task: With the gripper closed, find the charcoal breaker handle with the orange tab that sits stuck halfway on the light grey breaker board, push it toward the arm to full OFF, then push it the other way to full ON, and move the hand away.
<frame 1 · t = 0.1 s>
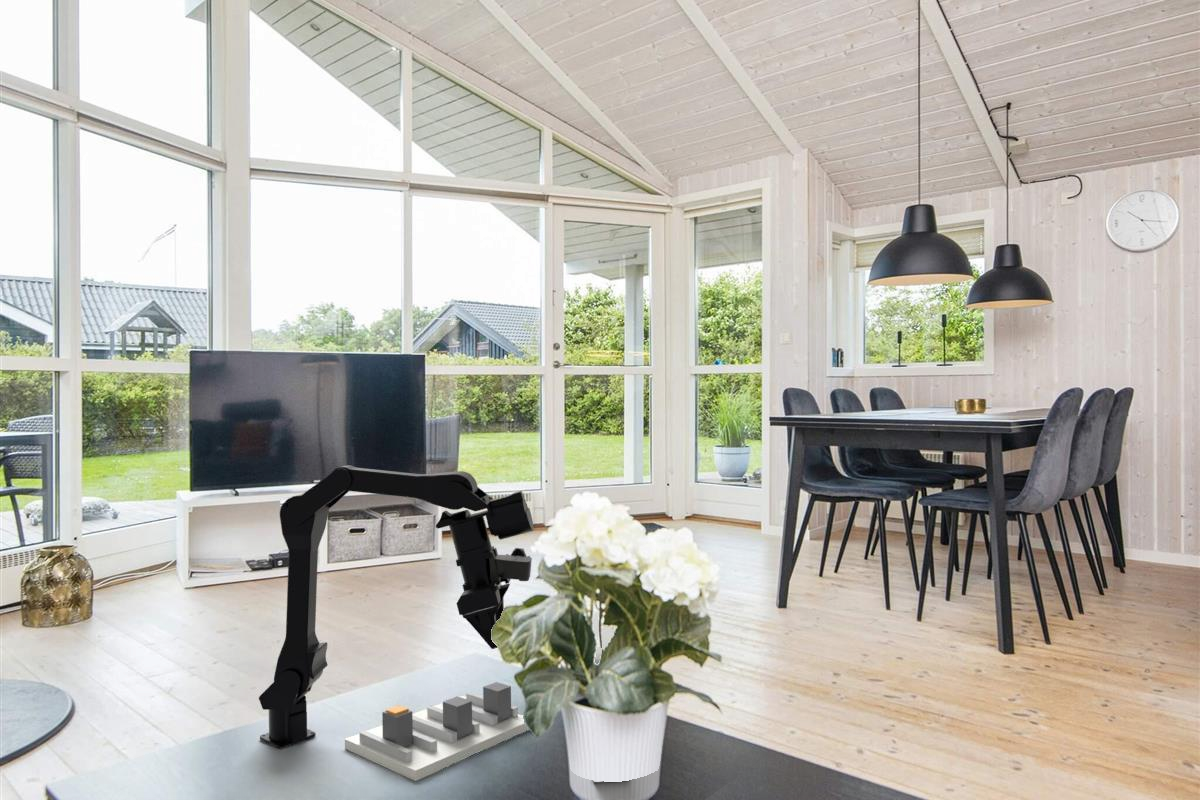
hand: (498, 639, 132), 15 cm above the table, tool pointing down, fingers open, 9 cm apart
tripped breaker: (397, 726, 124), point 4 cm above the table, slide at 0.0 cm
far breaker: (497, 701, 135), point 4 cm above the table, slide at 4.0 cm
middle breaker: (457, 717, 128), point 4 cm above the table, slide at 4.0 cm
breaker board: (441, 738, 131), on the table
rounded white slab: (599, 747, 127), on the table
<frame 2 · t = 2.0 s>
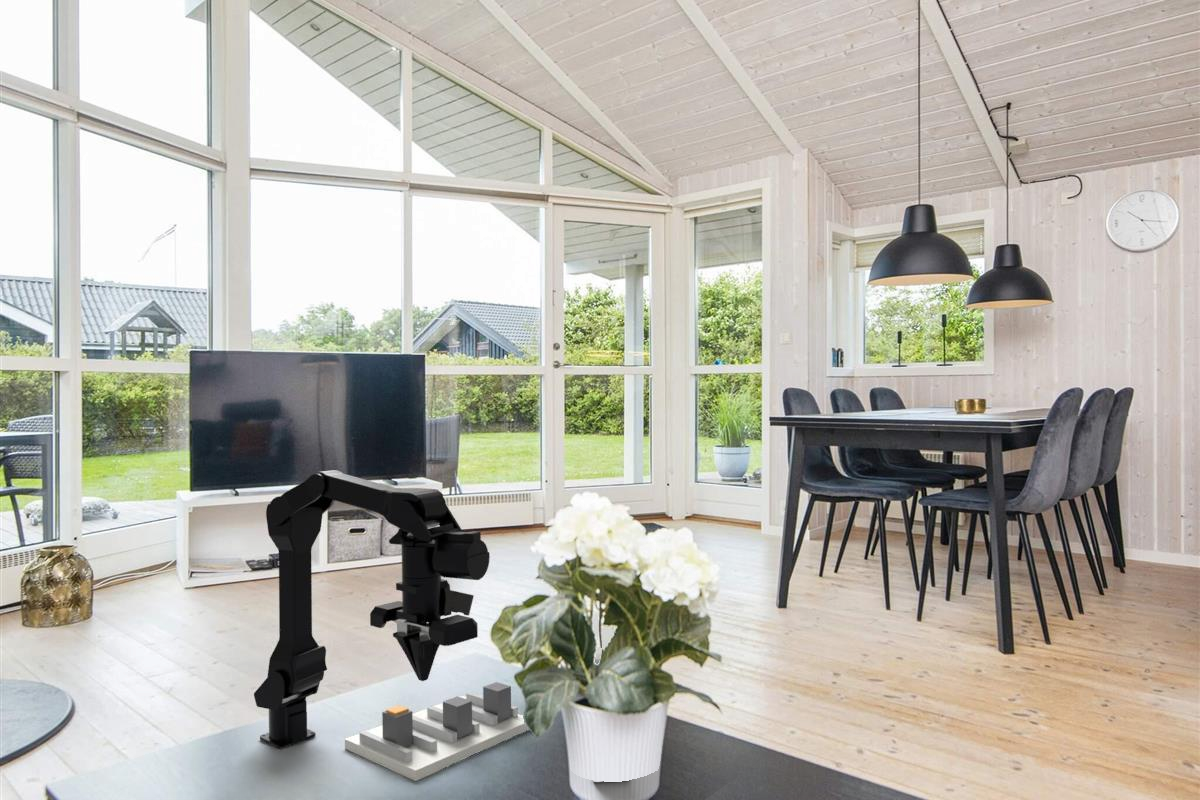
hand: (423, 680, 120), 13 cm above the table, tool pointing down, fingers closed
nothing on the table moved.
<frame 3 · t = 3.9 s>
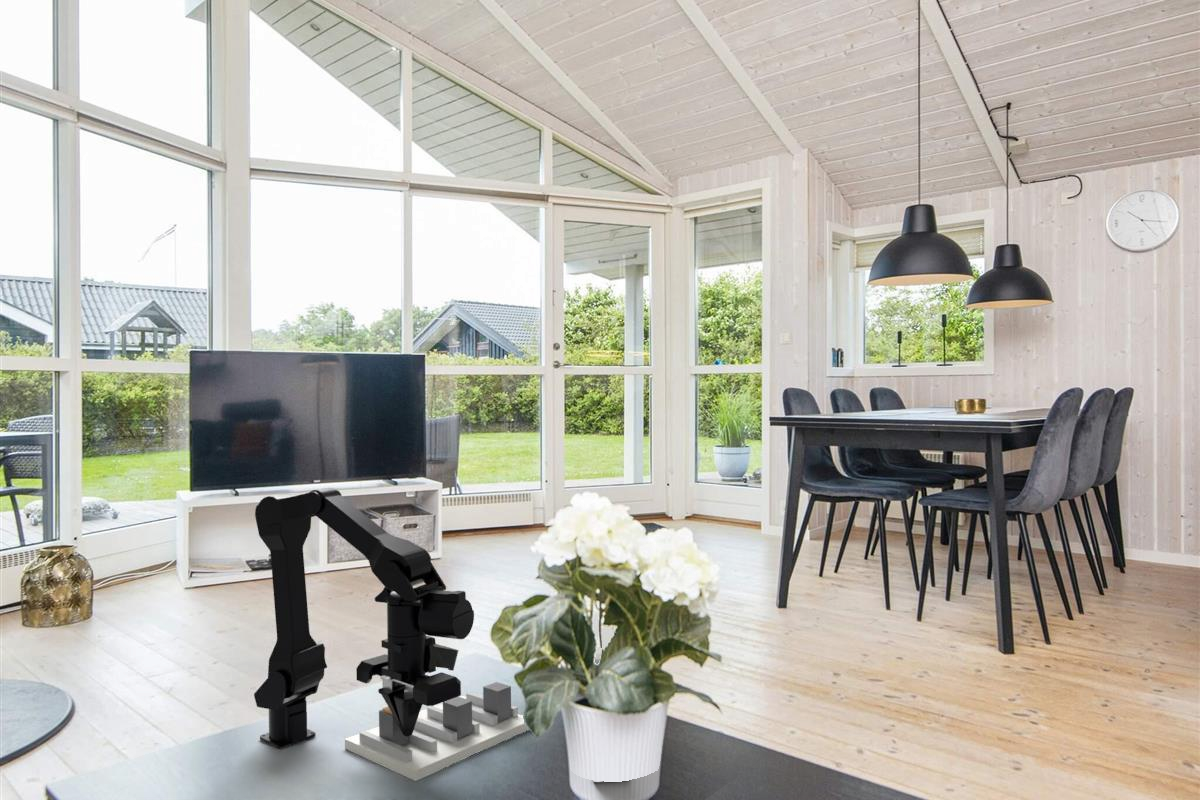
hand: (407, 735, 123), 4 cm above the table, tool pointing down, fingers closed
tripped breaker: (394, 725, 125), point 4 cm above the table, slide at -0.9 cm, touching gripper
everything else where it was.
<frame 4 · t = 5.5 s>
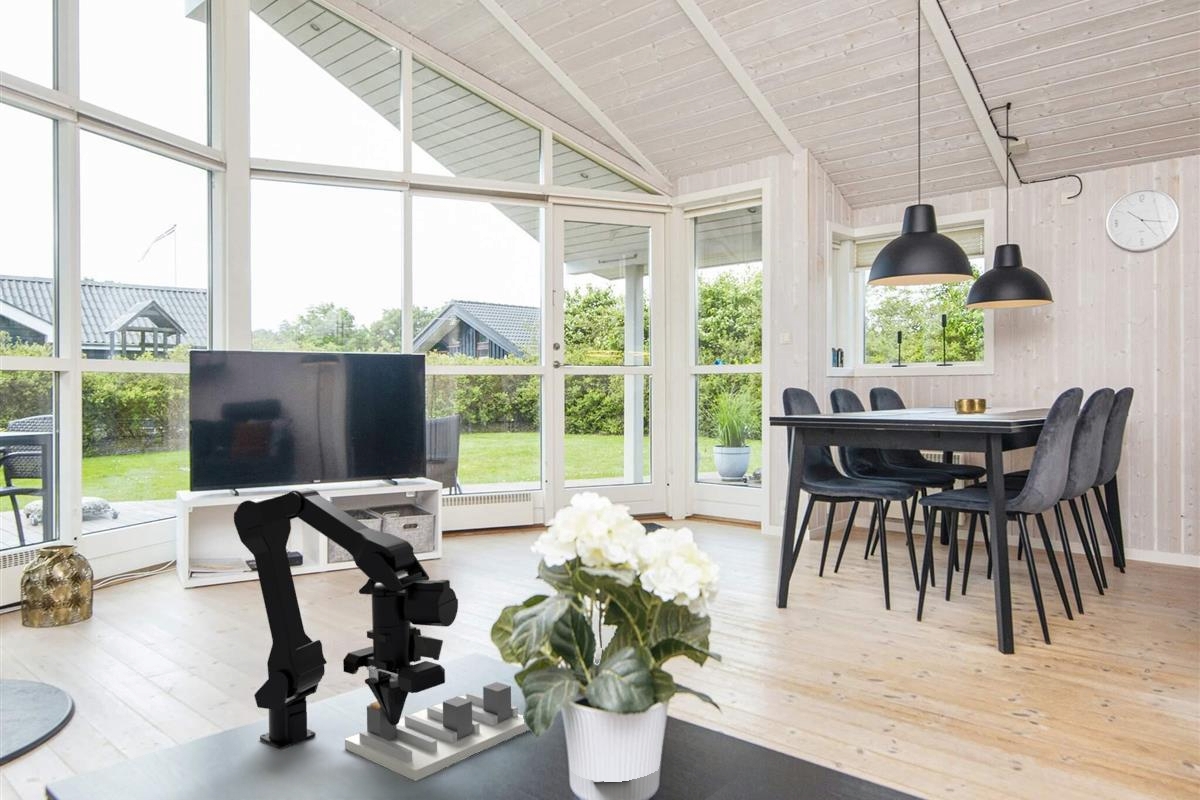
hand: (394, 724, 125), 5 cm above the table, tool pointing down, fingers closed
tripped breaker: (381, 720, 127), point 4 cm above the table, slide at -4.1 cm, touching gripper
everything else where it was.
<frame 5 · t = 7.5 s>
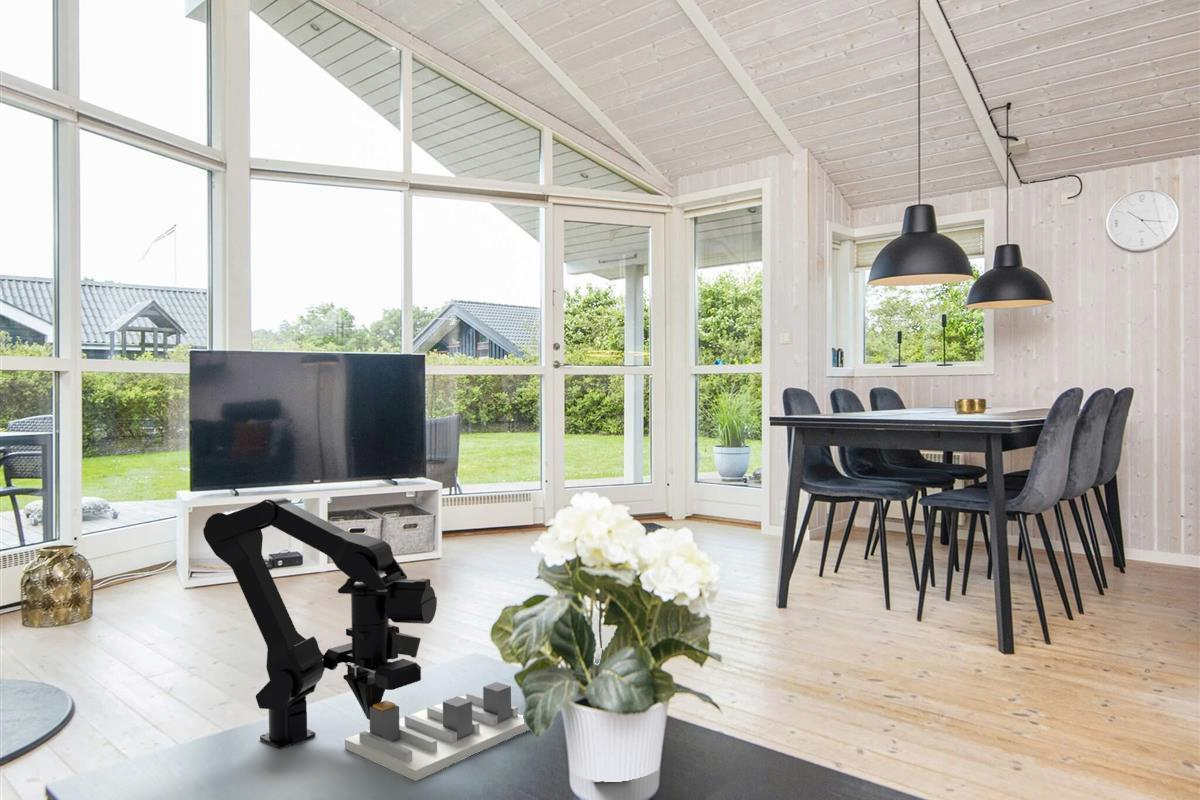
hand: (371, 719, 129), 4 cm above the table, tool pointing down, fingers closed
tripped breaker: (384, 721, 127), point 5 cm above the table, slide at -3.4 cm, touching gripper
everything else where it was.
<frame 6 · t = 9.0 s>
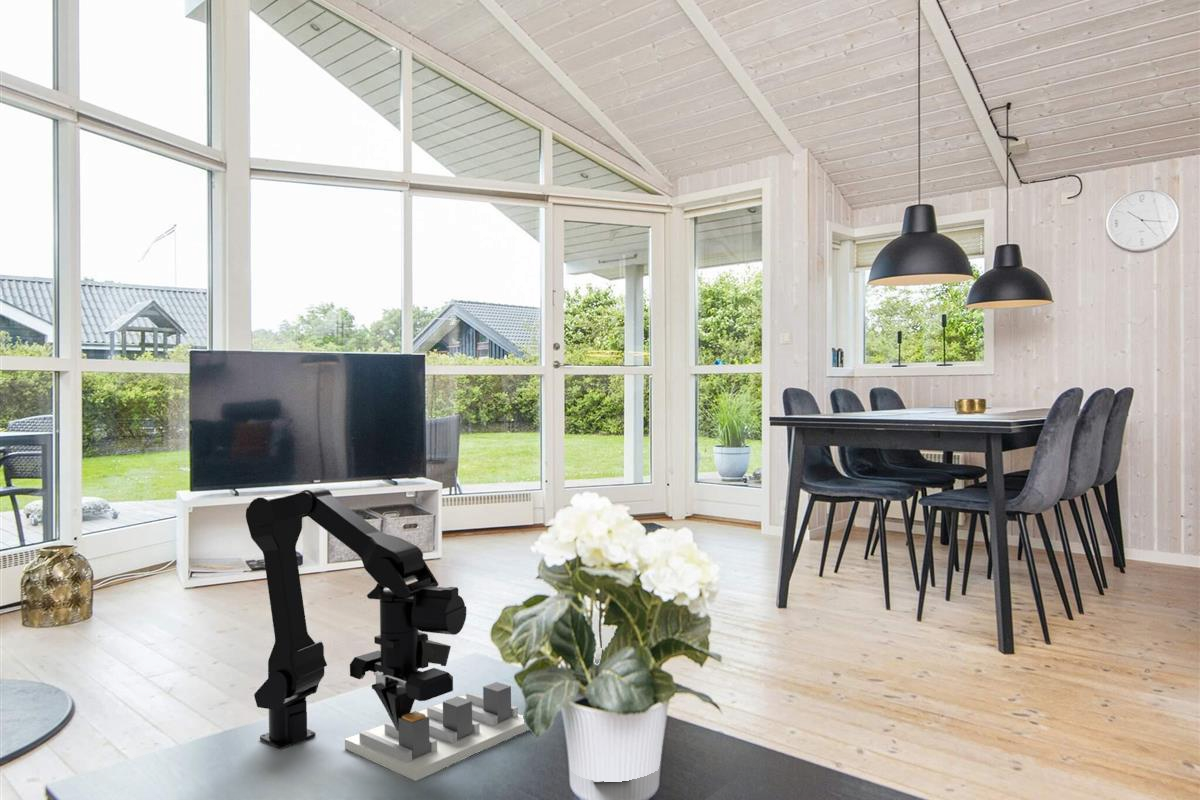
hand: (400, 730, 124), 4 cm above the table, tool pointing down, fingers closed
tripped breaker: (414, 733, 122), point 5 cm above the table, slide at 4.1 cm, touching gripper
everything else where it was.
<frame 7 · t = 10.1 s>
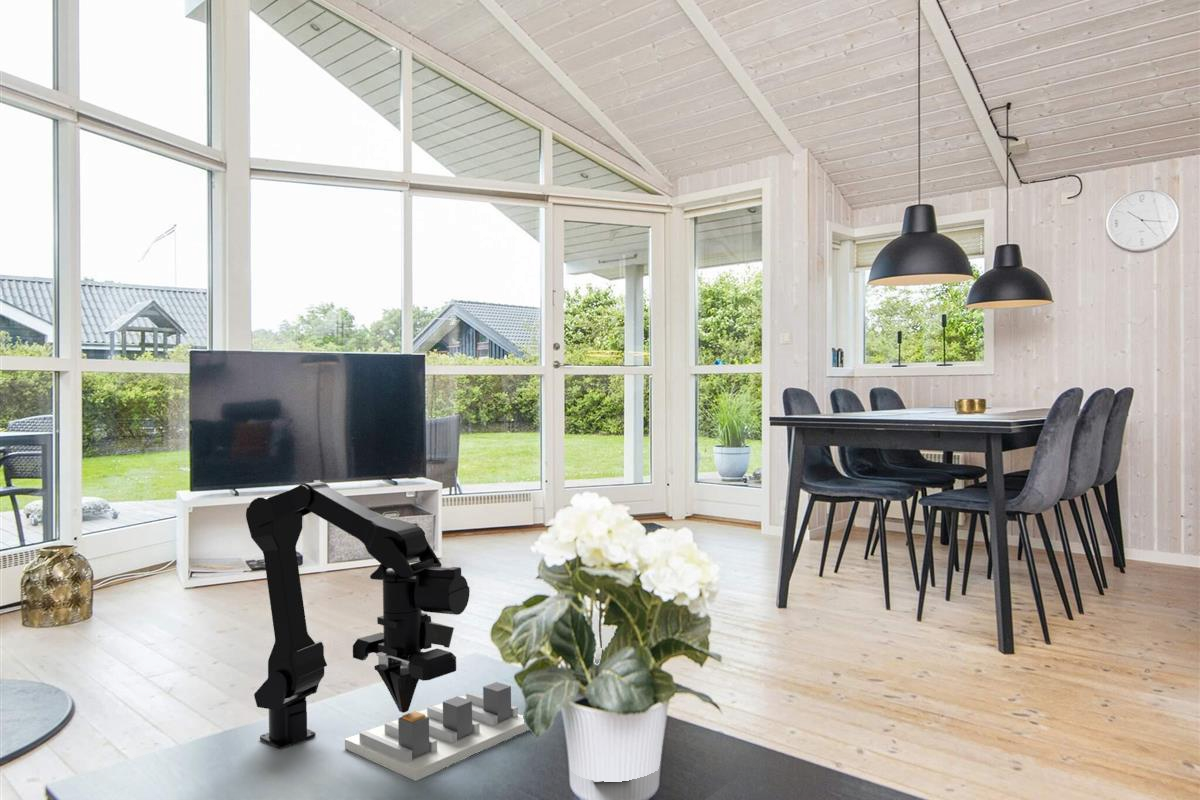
hand: (404, 711, 124), 7 cm above the table, tool pointing down, fingers closed
tripped breaker: (413, 733, 122), point 5 cm above the table, slide at 4.1 cm
everything else where it was.
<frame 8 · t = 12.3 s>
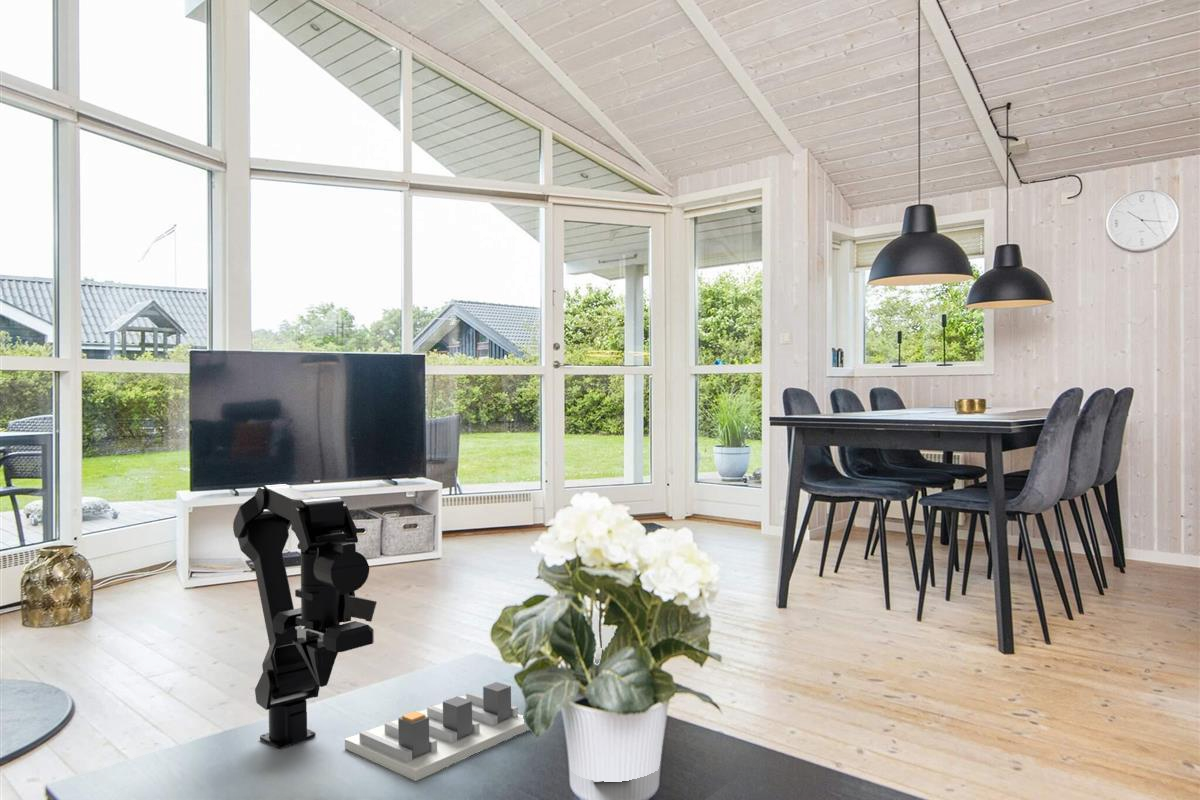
hand: (322, 685, 121), 12 cm above the table, tool pointing down, fingers closed
nothing on the table moved.
at the end: tripped breaker slide at 4.1 cm; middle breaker slide at 4.0 cm; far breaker slide at 4.0 cm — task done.
